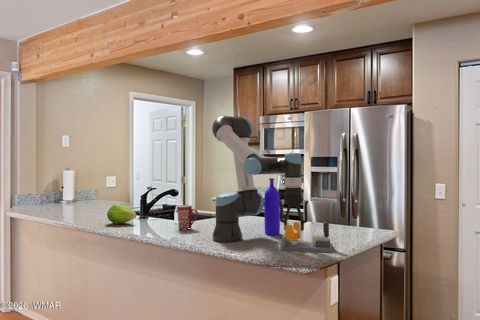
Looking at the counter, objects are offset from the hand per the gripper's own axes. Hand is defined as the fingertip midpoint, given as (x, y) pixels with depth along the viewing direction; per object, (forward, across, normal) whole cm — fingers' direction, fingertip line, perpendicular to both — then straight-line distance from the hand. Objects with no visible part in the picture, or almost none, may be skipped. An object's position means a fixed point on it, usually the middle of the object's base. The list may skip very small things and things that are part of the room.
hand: (294, 237), depth 179 cm
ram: (+3, +12, 0) cm, 12 cm away
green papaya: (+4, -114, +44) cm, 122 cm away
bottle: (+5, -15, +30) cm, 34 cm away
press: (+5, +6, 0) cm, 7 cm away
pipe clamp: (0, 0, +1) cm, 1 cm away
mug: (+4, -66, +35) cm, 75 cm away
